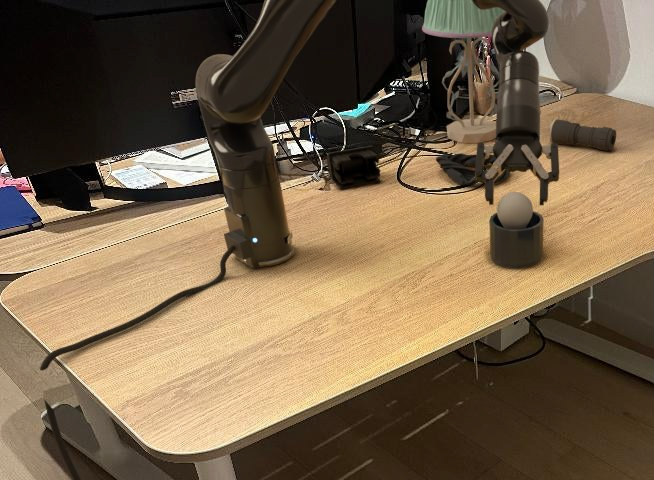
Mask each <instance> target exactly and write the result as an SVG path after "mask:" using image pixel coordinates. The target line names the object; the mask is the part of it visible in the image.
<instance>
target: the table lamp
mask: <svg viewBox="0 0 654 480" xmlns="http://www.w3.org/2000/svg"><path fill="white" fill-rule="evenodd" d="M504 12H505V11H504V10H502V9H501V8H497V7H495V8H491V9H488V10H481V9H479V8H478V7H477V6H475V4H474V3H473V2H472V1H471V0H427V2H426V7H425V10H424V21H423V24H422V26H421V30H422V32H423V33H425V34H427V35H430V36H434V37H440V38H449V39H451V38H452V39H455V40H453V41H451V42H450V46H449V49H448V51H449V53H450V54H452V51H453V48H454V46H455V45H462V47H464V49H462V50H461V51H460V52H459V53H458V56H457V57H456V61H457V62H456V63H454V66H455V67H454V68H453V69H451V70H449V71H447V72H445V75H444V76H443V78H442V81H441V84H442V85H443V88H444V89H445V90H446V91H447V95H446V97H447V109H448V111H446V118H447V119H451V120H452V122H451V123H449V124H447V125H446V132H447V139H449V140H452V141H455V142H458V143H461V144H478V143H480V142H482V143H484V142H490V141H492V140H494V139H496V122H494V121H492V120H488V119H487V118H492V117H493V116H494V115H495V114H496V111H497V103H496V95H497V94H496V91H495V88H496V87H497V86H499V79H498V80H497V82H496V84H494V82H493V79H492V78H491V77H490V76H489V74H488V73H487V71H486V70H485V69H484V67H483V66H482V65H485V66H487V67H488V68H489V69H490V71H492V72H493V73H496V74H497V76H498V78H499V70H498V69H497V67H496V66H494V65H489V64H487V63H485V61H484V60H482V59H481V58H480V57H477V55H476V54H477V48H475V46H476V44H477V43H478V42H480V41H482V42H483V43H486V49H487V50H489V48H490V47H489V46H490V42H489V41H488V39H487V37H489V38H490V37H491V31H492V27H493V24H494V21H495V20H496V18H497V17H498V16H499V15H501V14H502V13H504ZM461 39H466V42H465V41H464V40H461ZM472 39H474V41H472ZM481 64H482V65H481ZM476 66H477V67H478V68H479V70H480V71H481V72H482V73H483V75H484V76H485V78H486V79H487V80H488V82H489V85H490V89H488V88H487V87H486V86H484V91H485V93H486V94H487V95H489V96H490V98H491V101H490V107H489V109H487V111H486V113H484V115H483V116H482V117H481V118H475V109H474V80H473V79H474V78H473V76H475V77H478V75H477V69H476ZM455 70H456V72H455V74H454V71H455ZM460 73H461V77H462V78H464V77H465V76H466V74H467V73H468V74H467V76H468V78H467V79H468V94H469V95H468V99H469V118H466V119H461V118H460V117H458V116H457V115H456V114H455V112H454V111H453V105H454V102H455V100H456V99H458V97H459V95H460V89H458V90H457V91H456V92H455V93H454V91H453V90H452V89H453V85H454V83H455V82H456V81H457V78H458V76H459V75H460ZM453 74H454V75H453ZM452 75H453V77H452V78H451V81H450V82H449V86H448V88H447V86H446V84H445V80H446V79H447V78H449V77H451V76H452ZM451 94H452V95H451ZM450 99H451V101H450ZM492 110H493V112H492V113H491V111H492ZM490 113H491V114H490Z"/></svg>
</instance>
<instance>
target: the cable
mask: <svg viewBox="0 0 654 480" xmlns="http://www.w3.org/2000/svg"><path fill="white" fill-rule="evenodd" d="M495 161H496V157H495V156H494V154H490V155H489V157H488V159H484V167H485V166H488V165H491V166H492V165H493V163H494V162H495ZM435 162H436V163H438V165H439V167H440V169H442V171H443V173H444V174H445V175H446V176H447V178H449V179H450V180H451V181H452V182H454V183H455V184H458V185H459V186H461V187H465V186H471V187H477V183H480V184H484V185H485V183H484V182H482V181H477V180H476V177H475V168H474V169H473V168H470V167H473V166H475V164H476V154H475V153H474V154H466V153H456V154H447V153H443V154H442V155H440V156H436V158H435ZM483 171H484V172H488V171H489V170H487V169H486V170H483ZM510 174H511V172H508V170H504V172H503V173H502V174H501V175H500V176H498V177H497V179H496V180H495V181H494V185H497V184H500V183H503V182H505V181H506V180H507V179H508V177H510Z"/></svg>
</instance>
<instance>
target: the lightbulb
mask: <svg viewBox="0 0 654 480" xmlns="http://www.w3.org/2000/svg"><path fill="white" fill-rule="evenodd" d="M533 211H534V207H533V204H532V201H531V200H530V198H529V197H528V196H527V195H526V194H524V193H522V192H519V191H510V192H508V193H506V194H505V195H503V196H501V198H500V199H499V201H498V203H497V207H496V213H497V215H498V218H499V220H500V222H501V224H502V225H503V227H504V228H507V229H526V227H527V225H528V223H529V221H530V219H531V217H532V214H533Z"/></svg>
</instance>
